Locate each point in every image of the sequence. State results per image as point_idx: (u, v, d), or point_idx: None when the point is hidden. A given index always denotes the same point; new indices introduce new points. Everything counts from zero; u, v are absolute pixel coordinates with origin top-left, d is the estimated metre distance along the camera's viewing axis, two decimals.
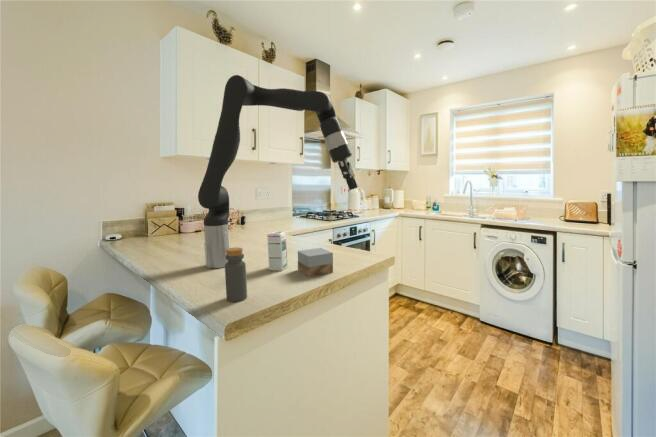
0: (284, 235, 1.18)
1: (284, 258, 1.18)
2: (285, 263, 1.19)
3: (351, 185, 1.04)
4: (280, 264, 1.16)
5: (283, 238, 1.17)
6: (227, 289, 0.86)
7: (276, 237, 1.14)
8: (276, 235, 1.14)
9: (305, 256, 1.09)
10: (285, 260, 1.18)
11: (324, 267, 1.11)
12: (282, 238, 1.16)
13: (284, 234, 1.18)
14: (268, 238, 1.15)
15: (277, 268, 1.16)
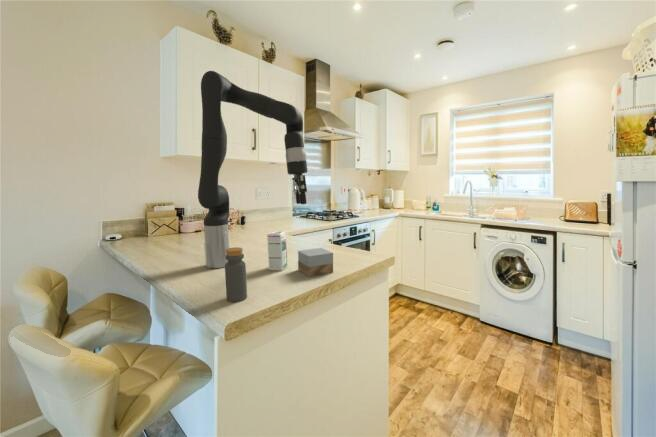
0: (284, 235, 1.18)
1: (284, 258, 1.18)
2: (285, 263, 1.19)
3: (303, 200, 1.09)
4: (280, 264, 1.16)
5: (283, 238, 1.17)
6: (227, 289, 0.86)
7: (276, 237, 1.14)
8: (276, 235, 1.14)
9: (305, 256, 1.10)
10: (285, 260, 1.18)
11: (324, 267, 1.11)
12: (282, 238, 1.16)
13: (284, 234, 1.18)
14: (268, 238, 1.15)
15: (277, 268, 1.16)
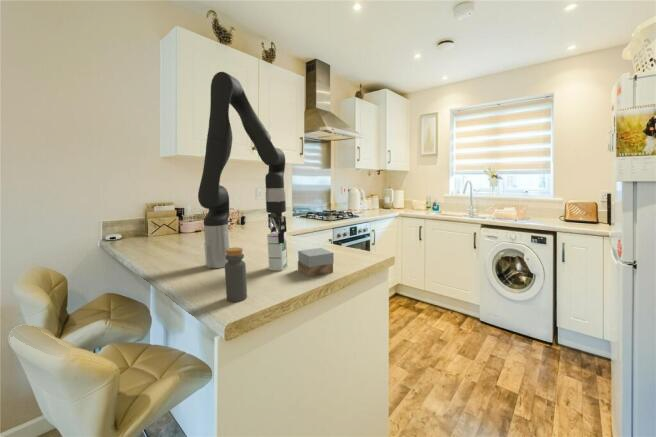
0: (284, 235, 1.18)
1: (284, 258, 1.18)
2: (285, 263, 1.19)
3: (282, 239, 1.13)
4: (280, 264, 1.16)
5: None
6: (227, 289, 0.86)
7: (276, 237, 1.14)
8: (276, 235, 1.14)
9: (306, 256, 1.09)
10: (285, 260, 1.18)
11: (324, 267, 1.11)
12: None
13: (284, 234, 1.18)
14: (268, 238, 1.15)
15: (277, 268, 1.16)
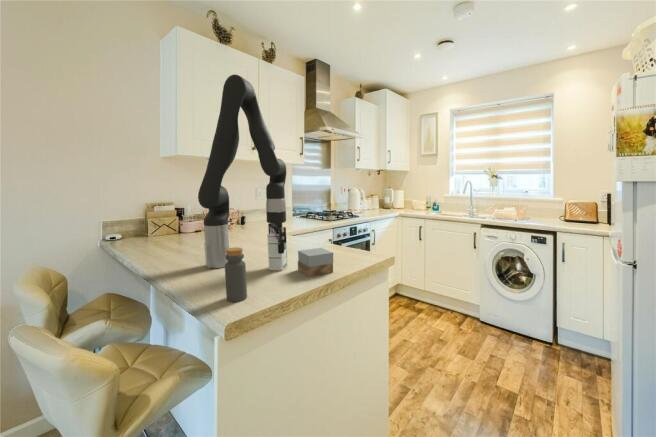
0: None
1: (284, 258, 1.18)
2: (285, 263, 1.19)
3: (282, 250, 1.14)
4: (280, 264, 1.16)
5: None
6: (227, 289, 0.86)
7: None
8: None
9: (305, 256, 1.10)
10: (285, 260, 1.18)
11: (324, 267, 1.11)
12: None
13: None
14: (268, 238, 1.15)
15: (277, 268, 1.16)
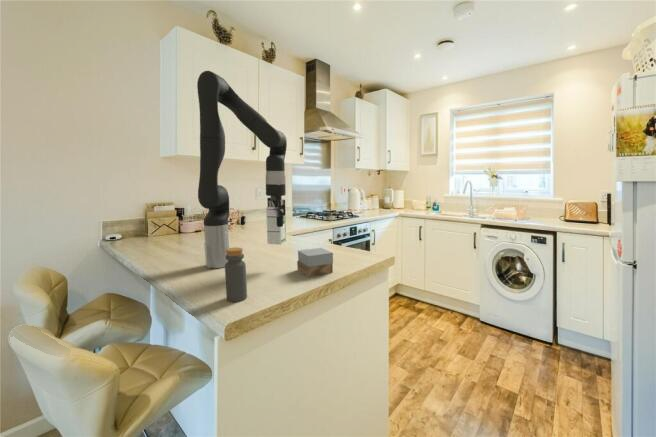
0: None
1: (283, 233, 1.17)
2: (284, 237, 1.17)
3: (280, 223, 1.12)
4: (279, 238, 1.14)
5: None
6: (227, 289, 0.86)
7: None
8: None
9: (305, 256, 1.10)
10: (283, 234, 1.17)
11: (323, 267, 1.11)
12: None
13: None
14: (267, 212, 1.14)
15: (275, 242, 1.15)
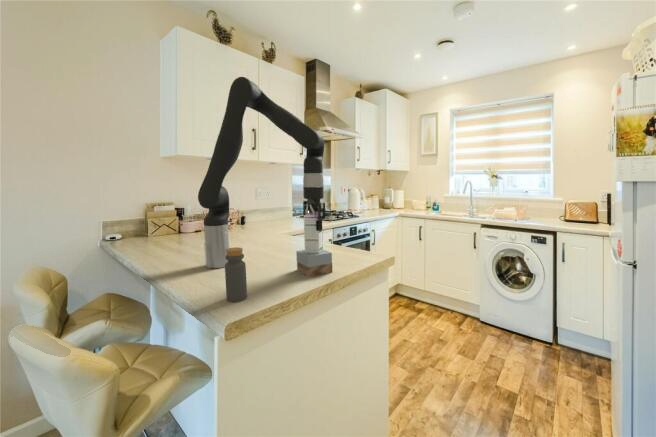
0: None
1: (321, 241, 1.13)
2: (321, 246, 1.14)
3: (320, 227, 1.08)
4: (317, 247, 1.11)
5: None
6: (227, 289, 0.86)
7: (313, 218, 1.09)
8: (313, 216, 1.09)
9: (304, 256, 1.09)
10: (321, 243, 1.13)
11: (323, 267, 1.11)
12: None
13: None
14: (304, 220, 1.10)
15: (313, 251, 1.11)
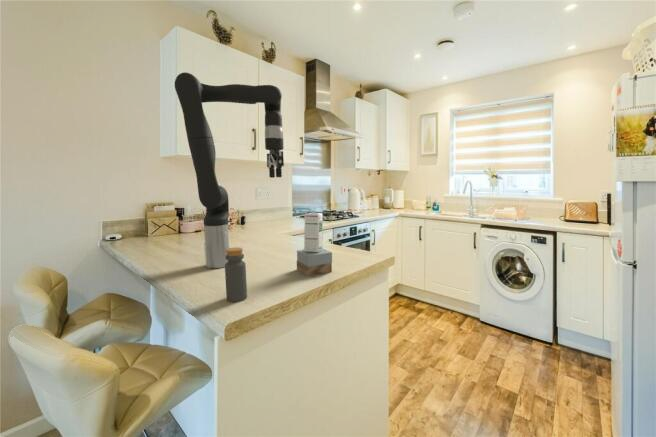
0: (321, 216, 1.14)
1: (320, 240, 1.14)
2: (321, 245, 1.14)
3: (279, 173, 1.21)
4: (317, 246, 1.11)
5: (320, 219, 1.13)
6: (227, 289, 0.86)
7: (314, 217, 1.11)
8: (314, 215, 1.11)
9: (304, 255, 1.10)
10: (320, 242, 1.14)
11: (323, 267, 1.11)
12: (319, 218, 1.12)
13: (321, 215, 1.14)
14: (305, 218, 1.12)
15: (313, 249, 1.12)
